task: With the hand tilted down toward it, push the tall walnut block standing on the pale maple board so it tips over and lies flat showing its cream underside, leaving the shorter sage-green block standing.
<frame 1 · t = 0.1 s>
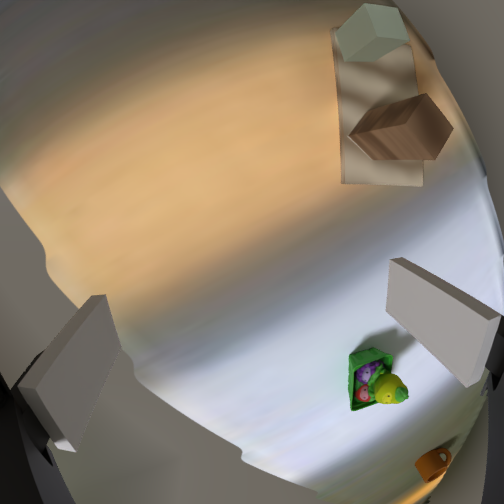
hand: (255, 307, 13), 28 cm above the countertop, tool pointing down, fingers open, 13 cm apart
walnut block: (369, 135, 37), point 1 cm above the countertop, touching maple board
fruit basket: (363, 367, 50), on the countertop
sage-green block: (354, 47, 33), point 1 cm above the countertop, touching maple board
mug: (429, 455, 67), on the countertop
maple board: (379, 106, 37), on the countertop
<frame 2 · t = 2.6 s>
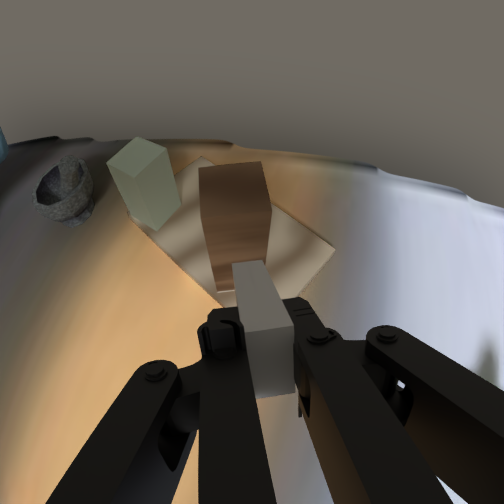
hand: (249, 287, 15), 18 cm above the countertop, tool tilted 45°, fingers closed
mortar and pestle: (80, 212, 40), on the countertop
walnut block: (237, 269, 34), point 1 cm above the countertop, touching maple board
sage-green block: (155, 209, 38), point 1 cm above the countertop, touching maple board
maple board: (225, 235, 38), on the countertop
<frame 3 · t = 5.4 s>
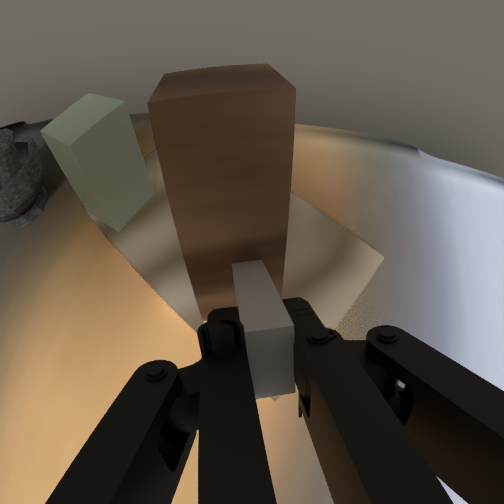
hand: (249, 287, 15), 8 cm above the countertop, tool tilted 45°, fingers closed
mortar and pestle: (32, 209, 27), on the countertop
walnut block: (237, 288, 21), point 2 cm above the countertop, tilted 14°, touching maple board
sage-green block: (119, 201, 25), point 1 cm above the countertop, touching maple board
maple board: (218, 236, 25), on the countertop
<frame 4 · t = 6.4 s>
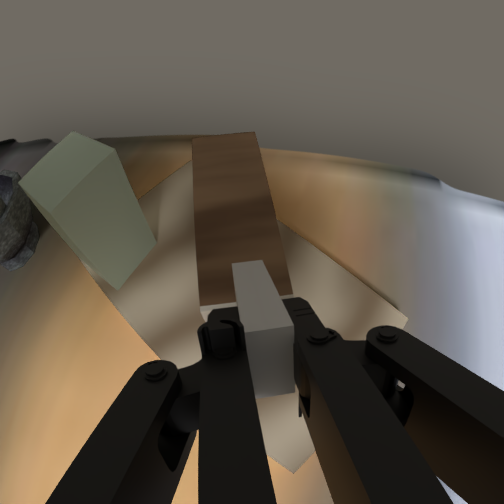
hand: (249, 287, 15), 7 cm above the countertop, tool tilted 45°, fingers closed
mortar and pestle: (23, 247, 25), on the countertop
walnut block: (247, 319, 18), point 4 cm above the countertop, tilted 90°, touching gripper, maple board
sage-green block: (117, 251, 23), point 1 cm above the countertop, touching maple board
maple board: (230, 296, 22), on the countertop
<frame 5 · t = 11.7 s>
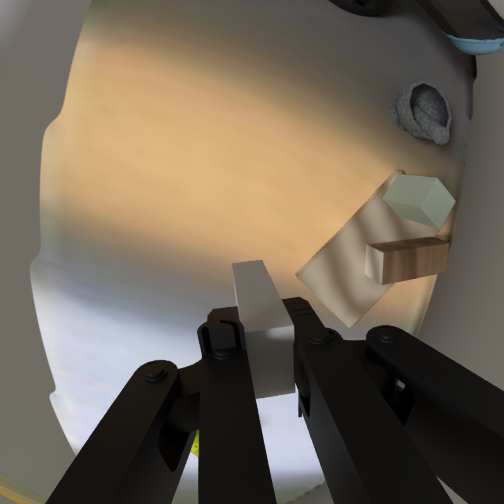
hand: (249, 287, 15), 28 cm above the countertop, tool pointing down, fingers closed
mortar and pestle: (404, 117, 41), on the countertop
walnut block: (373, 264, 42), point 4 cm above the countertop, tilted 90°, touching maple board
sage-green block: (399, 195, 43), point 1 cm above the countertop, touching maple board
maple board: (373, 249, 46), on the countertop
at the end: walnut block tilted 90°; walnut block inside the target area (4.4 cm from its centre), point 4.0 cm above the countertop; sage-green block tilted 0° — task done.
